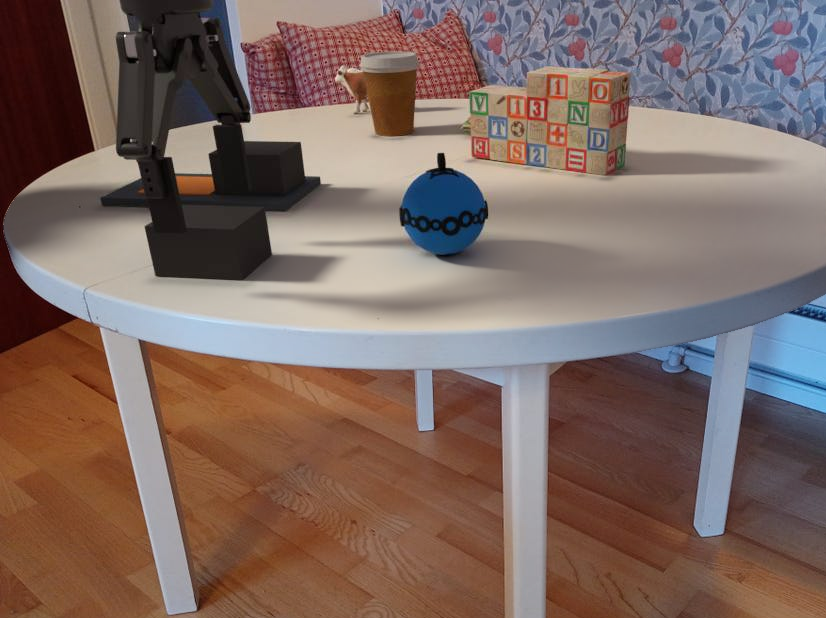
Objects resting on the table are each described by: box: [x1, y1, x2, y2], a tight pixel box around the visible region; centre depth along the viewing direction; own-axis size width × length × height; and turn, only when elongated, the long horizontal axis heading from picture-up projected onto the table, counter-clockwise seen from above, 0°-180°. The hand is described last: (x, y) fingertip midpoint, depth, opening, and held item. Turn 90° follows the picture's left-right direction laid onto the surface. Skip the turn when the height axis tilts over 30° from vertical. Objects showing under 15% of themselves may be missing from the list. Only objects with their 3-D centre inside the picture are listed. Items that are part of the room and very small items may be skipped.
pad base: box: [99, 140, 322, 212], centre depth 103 cm, size 24×12×6 cm, turn 80°
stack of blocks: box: [468, 65, 632, 176], centre depth 112 cm, size 21×6×12 cm, turn 58°
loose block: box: [144, 205, 273, 281], centre depth 80 cm, size 9×7×5 cm
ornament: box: [398, 152, 489, 256], centre depth 80 cm, size 9×9×10 cm
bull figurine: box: [334, 65, 370, 115], centre depth 149 cm, size 4×13×8 cm, turn 84°
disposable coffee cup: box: [358, 50, 420, 137], centre depth 132 cm, size 10×10×12 cm
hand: (207, 209), depth 78 cm, fingers open, 13 cm apart
